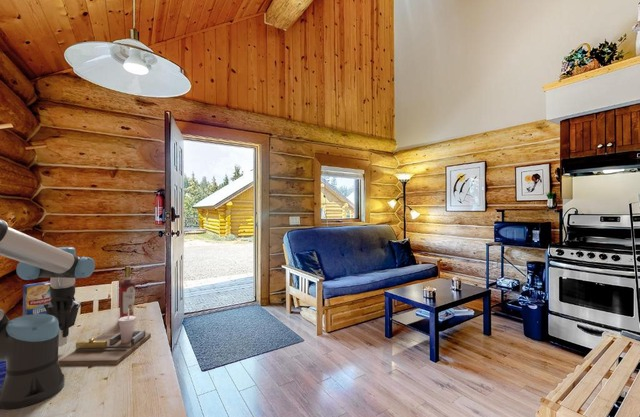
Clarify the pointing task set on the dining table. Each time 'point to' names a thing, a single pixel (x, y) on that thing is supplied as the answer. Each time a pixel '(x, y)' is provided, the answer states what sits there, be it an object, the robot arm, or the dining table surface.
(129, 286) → the liquor
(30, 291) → the blue food box
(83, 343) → the bar
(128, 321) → the smoothie
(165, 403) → the dining table surface
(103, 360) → the board
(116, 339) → the collar
